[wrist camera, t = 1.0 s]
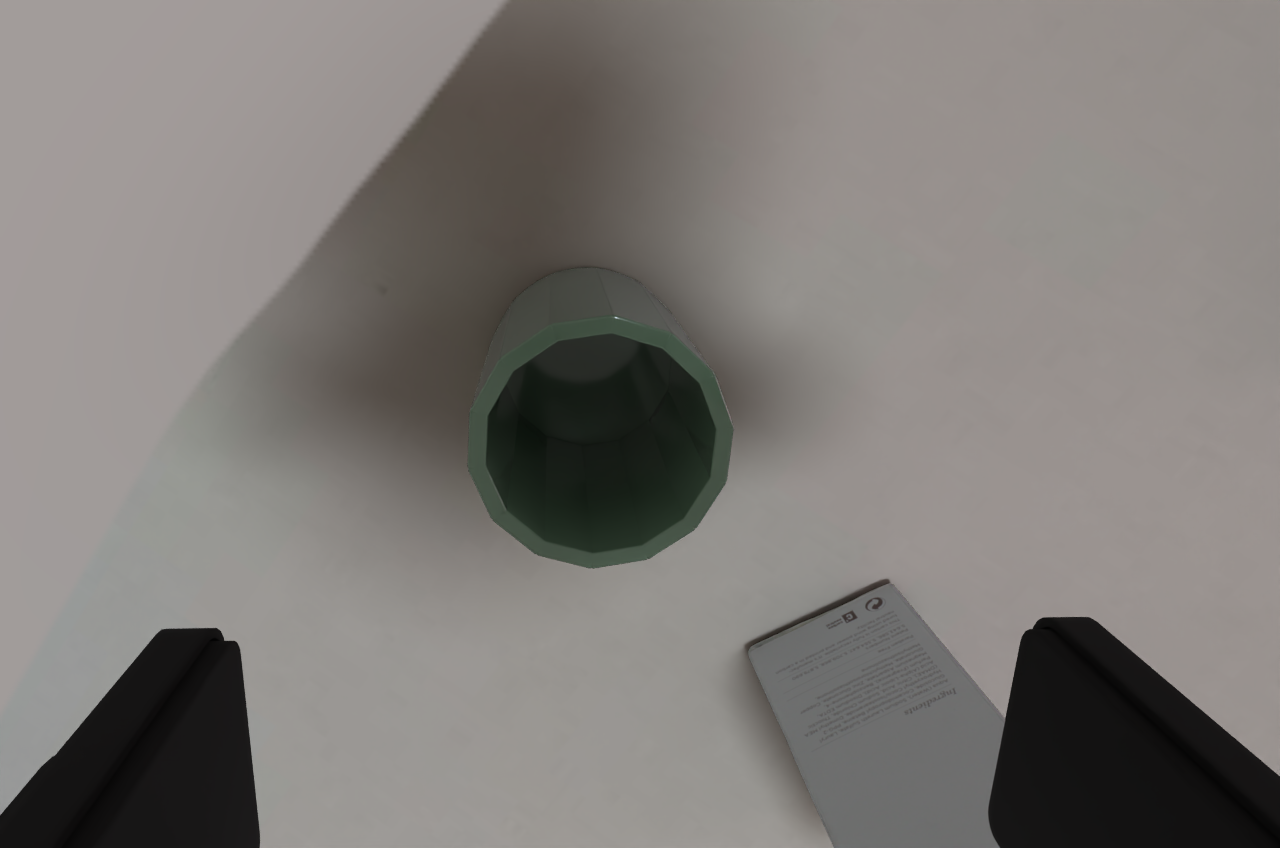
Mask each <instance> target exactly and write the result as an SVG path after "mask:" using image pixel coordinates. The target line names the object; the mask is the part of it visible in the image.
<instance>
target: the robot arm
mask: <svg viewBox="0 0 1280 848" xmlns="http://www.w3.org/2000/svg"><path fill="white" fill-rule="evenodd" d="M988 819H989V824H990V829H991V832H992V835H993V837H994V839H995V841H996V842H997V844H998V846H999V847H1000V848H1280V776H1279V775H1277V774H1276V773H1275V772H1274V771H1273V770H1271V769H1270V768H1269V767H1268V766H1267V765H1266V764H1264V763H1263V762H1262V761H1261V760H1260V759H1258V758H1257V757H1256V756H1255V755H1254V754H1253V753H1251V752H1250V751H1249V750H1248V749H1247V748H1245V747H1244V746H1243V745H1242V744H1241V743H1240V742H1238V741H1237V740H1236V739H1235V738H1234V737H1232V736H1231V735H1230V734H1229V733H1228V732H1227V731H1225V730H1224V729H1223V728H1222V727H1221V726H1219V725H1218V724H1217V723H1216V722H1215V721H1214V720H1212V719H1211V718H1210V717H1209V716H1208V715H1206V714H1205V713H1204V712H1203V711H1202V710H1201V709H1199V708H1198V707H1197V706H1196V705H1195V704H1193V703H1192V702H1191V701H1190V700H1189V699H1188V698H1186V697H1185V696H1184V695H1183V694H1182V693H1180V692H1179V691H1178V690H1177V689H1176V688H1175V687H1173V686H1172V685H1171V684H1170V683H1169V682H1167V681H1166V680H1165V679H1164V678H1163V677H1162V676H1160V675H1159V674H1158V673H1157V672H1156V671H1154V670H1153V669H1152V668H1151V667H1150V666H1149V665H1147V664H1146V663H1145V662H1144V661H1143V660H1141V659H1140V658H1139V657H1138V656H1137V655H1136V654H1134V653H1133V652H1132V651H1131V650H1130V649H1128V648H1127V647H1126V646H1125V645H1124V644H1123V643H1121V642H1120V641H1119V640H1118V639H1117V638H1115V637H1114V636H1113V635H1112V634H1111V633H1110V632H1108V631H1107V630H1106V629H1105V628H1104V627H1102V626H1101V625H1100V624H1099V623H1098V622H1097V621H1095V620H1093V619H1091V618H1089V617H1047V618H1042V619H1040V620H1038V621H1037V622H1036V624H1035V625H1034V627H1033V629H1029V630H1027V631H1026V632H1025V633H1024V634H1023V636H1022V639H1021V642H1020V647H1019V652H1018V657H1017V662H1016V667H1015V672H1014V677H1013V682H1012V688H1011V693H1010V698H1009V703H1008V708H1007V713H1006V718H1005V724H1004V729H1003V734H1002V739H1001V744H1000V749H999V754H998V759H997V765H996V770H995V775H994V780H993V785H992V790H991V795H990V800H989V806H988ZM259 847H260V831H259V821H258V812H257V803H256V793H255V784H254V774H253V765H252V755H251V746H250V737H249V727H248V718H247V708H246V699H245V689H244V680H243V671H242V661H241V653H240V648H239V645H238V643H237V642H235V641H224V637H223V635H222V633H221V631H220V630H219V629H217V628H189V629H162V630H161V631H160V632H158V633H157V634H156V635H155V636H154V638H153V639H152V640H151V641H150V642H149V644H148V645H147V646H146V647H145V648H144V650H143V651H142V652H141V653H140V654H139V656H138V657H137V658H136V659H135V660H134V662H133V663H132V664H131V665H130V666H129V668H128V669H127V670H126V671H125V672H124V674H123V675H122V676H121V677H120V678H119V680H118V681H117V682H116V683H115V684H114V686H113V687H112V688H111V689H110V690H109V692H108V693H107V694H106V695H105V696H104V698H103V699H102V700H101V701H100V702H99V704H98V705H97V706H96V707H95V708H94V710H93V711H92V712H91V713H90V714H89V716H88V717H87V718H86V719H85V720H84V722H83V723H82V724H81V725H80V726H79V728H78V729H77V730H76V731H75V732H74V734H73V735H72V736H71V737H70V738H69V740H68V741H67V742H66V743H65V744H64V746H63V747H62V748H61V749H60V750H59V751H58V753H57V754H56V755H55V756H53V757H52V758H51V759H49V760H48V761H47V762H46V763H45V764H44V765H43V766H42V767H41V768H40V769H39V770H38V771H37V772H36V774H35V775H34V776H33V777H32V778H31V780H30V781H29V782H28V783H27V784H26V786H25V787H24V788H23V789H22V790H21V791H20V793H19V794H18V795H17V796H16V797H15V799H14V800H13V801H12V802H11V803H10V805H9V806H8V807H7V808H6V809H5V810H4V812H3V813H2V814H1V815H0V848H259Z"/></svg>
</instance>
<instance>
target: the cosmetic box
mask: <svg viewBox="0 0 1280 848" xmlns="http://www.w3.org/2000/svg"><path fill="white" fill-rule="evenodd" d="M748 655H749V658H750V661H751V663H752V665H753V667H754V670H755V672H756V674H757V676H758V678H759V681H760V683H761V685H762V687H763V690H764V692H765V694H766V696H767V699H768V701H769V703H770V705H771V707H772V710H773V712H774V714H775V716H776V718H777V720H778V723H779V725H780V727H781V729H782V731H783V733H784V736H785V738H786V740H787V743H788V745H789V747H790V750H791V752H792V755H793V757H794V759H795V762H796V764H797V766H798V768H799V771H800V773H801V775H802V778H803V780H804V782H805V784H806V787H807V789H808V791H809V793H810V796H811V798H812V800H813V802H814V805H815V807H816V809H817V811H818V813H819V816H820V818H821V820H822V822H823V825H824V827H825V829H826V831H827V833H828V836H829V838H830V840H831V842H832V844H833V847H834V848H1000V847H999V846H998V844H997V842H996V841H995V839H994V837H993V835H992V832H991V829H990V824H989V819H988V806H989V800H990V795H991V790H992V785H993V780H994V775H995V770H996V765H997V759H998V754H999V749H1000V744H1001V739H1002V734H1003V729H1004V724H1005V718H1004V717H1003V715H1002V714H1001V713H1000V712H999V711H998V709H997V708H996V707H995V706H994V704H993V703H992V702H991V701H990V700H989V698H988V697H987V696H986V695H985V694H984V692H983V691H982V690H981V689H980V688H979V686H978V685H977V684H976V683H975V682H974V680H973V679H972V678H971V677H970V676H969V674H968V673H967V672H966V671H965V670H964V668H963V667H962V666H961V665H960V664H959V662H958V661H957V660H956V659H955V658H954V657H953V655H952V654H951V653H950V652H949V650H948V649H947V648H946V647H945V646H944V644H943V643H942V642H941V641H940V640H939V638H938V637H937V636H936V635H935V634H934V632H933V631H932V630H931V629H930V628H929V626H928V625H927V624H926V623H925V622H924V620H923V619H922V618H921V617H920V615H919V614H918V613H917V612H916V611H915V610H914V608H913V607H912V606H911V605H910V604H909V603H908V601H907V600H906V599H905V598H904V596H903V595H902V594H901V593H900V591H899V590H898V589H897V588H896V587H895V586H894V584H886V585H883V586H881V587H878V588H876V589H874V590H872V591H870V592H868V593H865V594H863V595H861V596H860V597H858V598H856V599H854V600H852V601H850V602H848V603H846V604H844V605H841V606H839V607H837V608H835V609H832V610H830V611H828V612H826V613H823V614H821V615H819V616H817V617H815V618H812V619H809V620H807V621H805V622H802V623H800V624H798V625H796V626H793V627H791V628H789V629H787V630H785V631H783V632H781V633H779V634H776V635H774V636H772V637H770V638H768V639H766V640H763V641H761V642H759V643H757V644H755V645H753V646H751V647H750V649H749V652H748Z"/></svg>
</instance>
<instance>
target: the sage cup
mask: <svg viewBox="0 0 1280 848" xmlns="http://www.w3.org/2000/svg"><path fill="white" fill-rule="evenodd" d="M733 431H734V428H733V422H732V420H731V417H730V414H729V411H728V408H727V405H726V403H725V400H724V397H723V394H722V391H721V388H720V386H719V383H718V380H717V377H716V375H715V373H714V372H713V370H712V369H711V367H710V366H709V365H708V363H707V362H706V360H705V359H704V358H703V356H702V355H701V353H700V352H699V351H698V349H697V348H696V347H695V345H694V344H693V342H692V341H691V340H690V338H689V337H688V335H687V334H686V333H685V331H684V330H683V328H682V327H681V326H680V324H679V323H678V322H677V320H676V319H675V317H674V316H673V315H672V313H671V312H670V310H669V309H668V308H667V307H666V306H665V305H663V304H662V303H661V302H660V301H659V300H658V299H657V297H656V296H655V295H654V294H653V293H652V292H650V291H649V290H648V289H647V288H646V287H645V286H644V285H643V284H642V283H640V282H638V281H637V280H634V279H632V278H630V277H628V276H626V275H624V274H621V273H618V272H615V271H612V270H607V269H601V268H590V267H583V268H572V269H567V270H563V271H559V272H556V273H553V274H551V275H548V276H546V277H544V278H542V279H540V280H538V281H537V282H535V283H534V284H532V285H531V286H529V287H528V288H527V289H526V290H524V291H523V292H522V293H521V294H520V295H519V296H518V297H516V298H515V299H514V300H513V302H512V303H511V305H510V307H509V308H508V310H507V311H506V313H505V315H504V316H503V318H502V320H501V323H500V325H499V327H498V328H497V330H496V332H495V334H494V335H493V338H492V341H491V344H490V348H489V351H488V354H487V357H486V361H485V364H484V367H483V370H482V373H481V377H480V380H479V383H478V386H477V390H476V393H475V396H474V399H473V402H472V406H471V409H470V412H469V437H468V465H467V466H468V471H469V473H470V475H471V477H472V479H473V481H474V484H475V486H476V488H477V490H478V492H479V494H480V496H481V498H482V500H483V502H484V505H485V507H486V509H487V511H488V513H489V515H490V517H491V518H492V519H493V521H494V522H495V523H497V524H498V525H499V526H500V527H502V528H503V529H504V530H505V531H507V532H508V533H509V534H510V535H512V536H513V537H514V538H515V539H517V540H518V541H519V542H520V543H522V544H523V545H524V546H526V547H527V548H528V549H529V550H531V551H532V552H533V553H534V554H537V555H538V556H542V557H546V558H550V559H554V560H558V561H562V562H566V563H570V564H574V565H578V566H582V567H586V568H599V567H606V566H612V565H618V564H624V563H630V562H636V561H642V560H647V558H648V559H650V558H651V557H653V556H654V555H656V554H657V553H659V552H661V551H662V550H664V549H665V548H667V547H668V546H670V545H672V544H673V543H675V542H676V541H678V540H679V539H681V538H683V537H684V536H686V535H687V534H689V533H690V532H692V531H694V530H695V528H697V526H698V525H699V523H700V522H701V520H702V519H703V517H704V516H705V514H706V513H707V511H708V510H709V508H710V507H711V505H712V504H713V502H714V501H715V499H716V497H717V496H718V494H719V493H720V491H721V490H722V488H723V487H724V485H725V484H726V481H727V476H728V468H729V461H730V453H731V446H732V438H733Z"/></svg>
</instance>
